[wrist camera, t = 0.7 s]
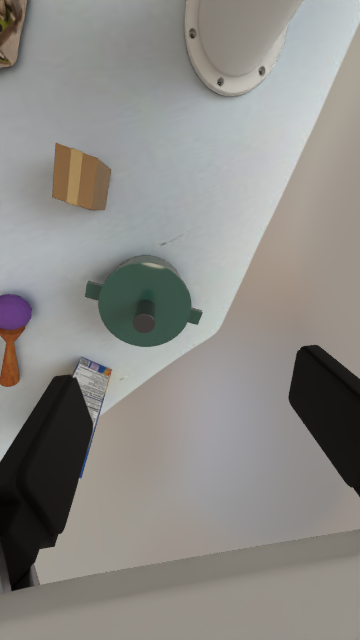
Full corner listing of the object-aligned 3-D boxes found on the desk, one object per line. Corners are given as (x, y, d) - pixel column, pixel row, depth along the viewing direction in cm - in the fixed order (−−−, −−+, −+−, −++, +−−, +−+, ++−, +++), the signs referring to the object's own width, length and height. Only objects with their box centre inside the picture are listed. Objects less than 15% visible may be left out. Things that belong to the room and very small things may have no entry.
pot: (102, 240, 37) (90, 247, 30) (205, 271, 41) (215, 283, 34) (91, 310, 42) (79, 329, 35) (183, 331, 46) (188, 352, 39)
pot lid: (108, 247, 31) (97, 256, 25) (202, 275, 34) (211, 289, 28) (93, 333, 37) (82, 355, 31) (175, 350, 40) (178, 374, 34)
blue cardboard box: (112, 369, 49) (81, 477, 29) (90, 401, 52) (50, 516, 33) (82, 356, 46) (27, 463, 27) (61, 390, 50) (0, 507, 30)
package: (78, 157, 31) (55, 141, 24) (111, 169, 32) (98, 157, 25) (74, 200, 34) (51, 197, 27) (104, 210, 35) (91, 210, 28)
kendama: (-18, 385, 43) (-24, 296, 33) (7, 365, 48) (7, 284, 39) (12, 396, 43) (14, 311, 34) (33, 375, 48) (40, 297, 39)
